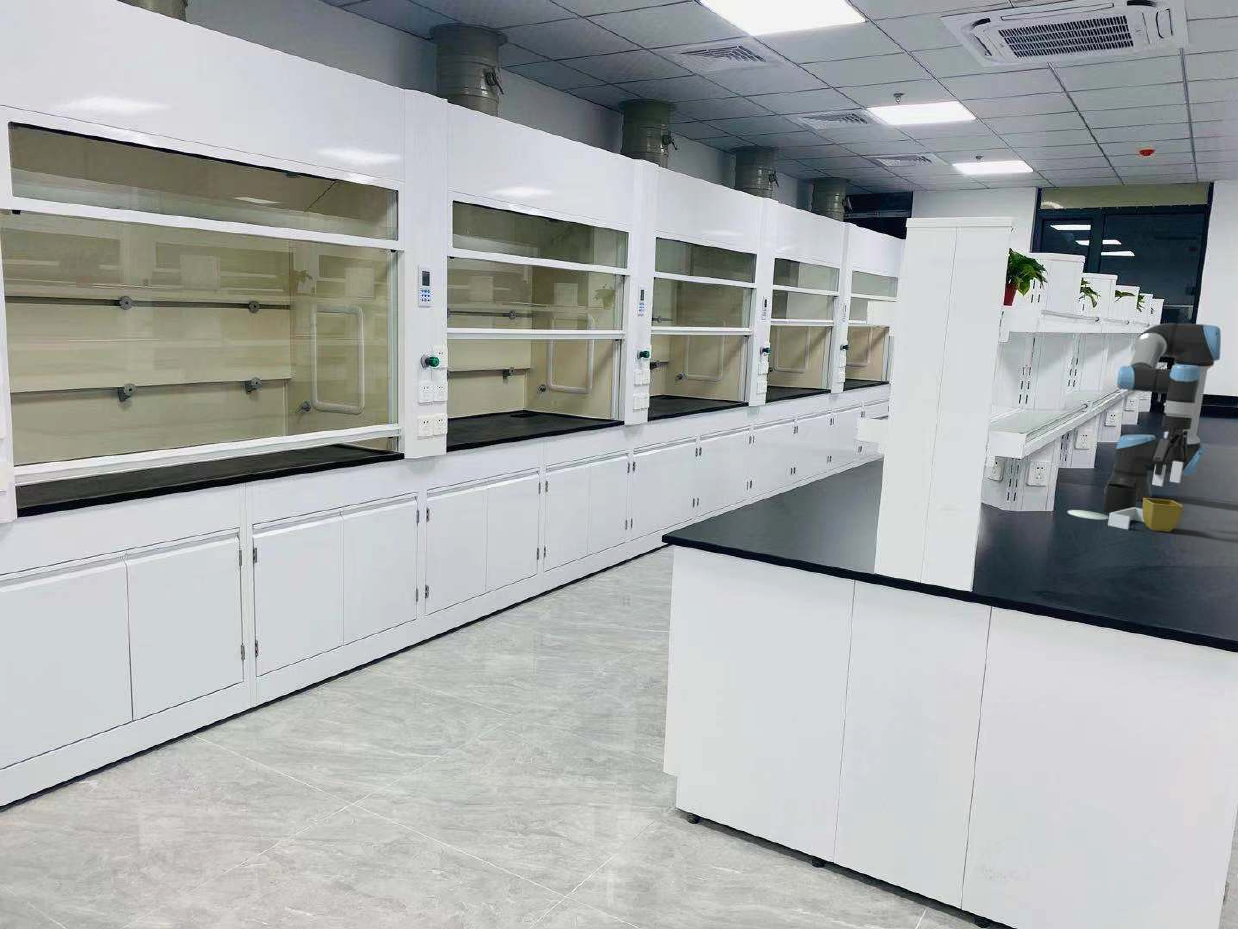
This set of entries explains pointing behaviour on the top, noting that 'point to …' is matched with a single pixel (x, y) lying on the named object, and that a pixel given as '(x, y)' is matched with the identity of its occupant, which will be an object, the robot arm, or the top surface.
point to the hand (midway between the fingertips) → (1166, 483)
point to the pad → (1088, 514)
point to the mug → (1119, 497)
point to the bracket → (1125, 517)
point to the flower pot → (1161, 514)
